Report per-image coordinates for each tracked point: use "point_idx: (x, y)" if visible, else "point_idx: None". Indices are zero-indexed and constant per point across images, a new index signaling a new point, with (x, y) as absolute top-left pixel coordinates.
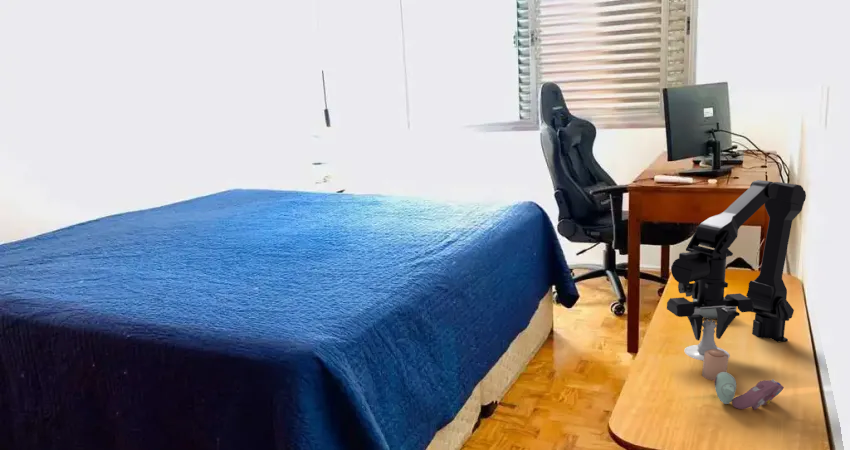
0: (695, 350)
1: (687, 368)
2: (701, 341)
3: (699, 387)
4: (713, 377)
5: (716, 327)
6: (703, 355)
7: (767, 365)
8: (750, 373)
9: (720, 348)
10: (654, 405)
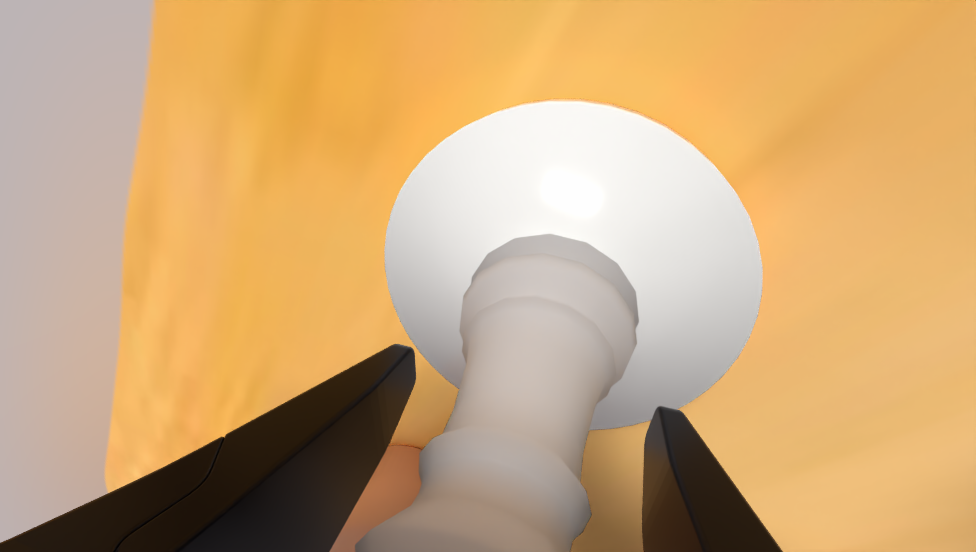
0: (486, 229)
1: (353, 358)
2: (467, 349)
3: None
4: None
5: (689, 527)
6: None
7: (863, 524)
8: (641, 521)
9: (758, 267)
10: None
